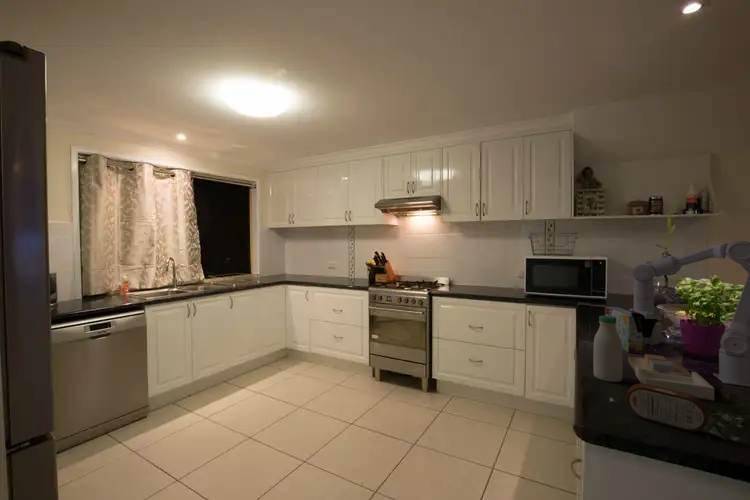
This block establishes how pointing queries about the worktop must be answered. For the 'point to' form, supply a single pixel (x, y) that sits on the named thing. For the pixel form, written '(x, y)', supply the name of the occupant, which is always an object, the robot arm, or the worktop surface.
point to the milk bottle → (608, 351)
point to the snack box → (626, 329)
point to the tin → (668, 407)
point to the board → (646, 367)
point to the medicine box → (654, 335)
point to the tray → (678, 383)
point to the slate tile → (660, 365)
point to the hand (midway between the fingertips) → (643, 334)
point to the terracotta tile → (654, 357)
